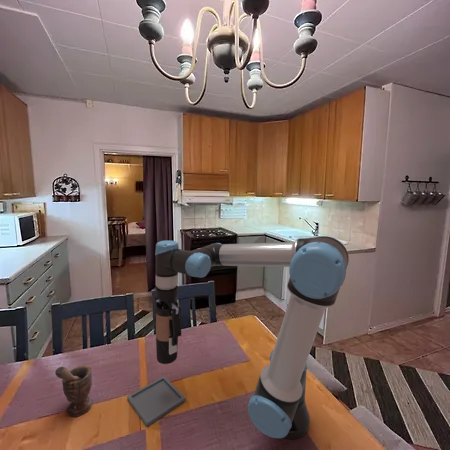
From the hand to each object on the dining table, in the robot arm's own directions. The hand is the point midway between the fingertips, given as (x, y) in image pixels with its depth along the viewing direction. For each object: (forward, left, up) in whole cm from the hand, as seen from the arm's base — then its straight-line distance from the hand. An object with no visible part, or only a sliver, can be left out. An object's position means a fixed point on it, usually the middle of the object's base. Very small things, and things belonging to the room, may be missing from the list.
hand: (166, 346), depth 90 cm
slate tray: (+2, +4, -20) cm, 21 cm away
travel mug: (0, 0, -4) cm, 4 cm away
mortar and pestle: (+16, +26, -20) cm, 36 cm away
